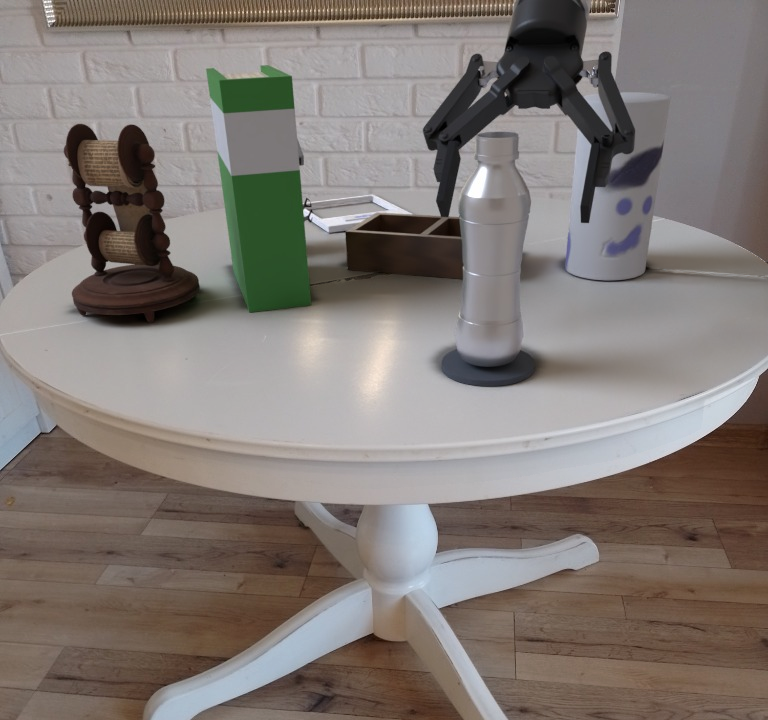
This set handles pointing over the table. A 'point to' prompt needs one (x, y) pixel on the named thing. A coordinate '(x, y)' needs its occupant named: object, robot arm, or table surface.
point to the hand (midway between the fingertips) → (511, 212)
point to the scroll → (124, 227)
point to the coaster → (488, 370)
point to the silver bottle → (492, 253)
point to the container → (619, 196)
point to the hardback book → (261, 185)
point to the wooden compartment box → (406, 245)
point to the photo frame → (350, 220)
